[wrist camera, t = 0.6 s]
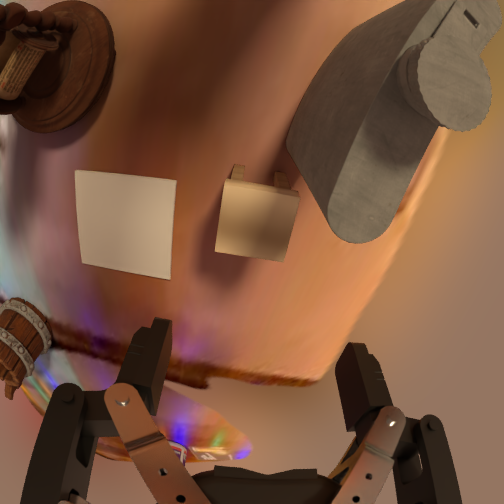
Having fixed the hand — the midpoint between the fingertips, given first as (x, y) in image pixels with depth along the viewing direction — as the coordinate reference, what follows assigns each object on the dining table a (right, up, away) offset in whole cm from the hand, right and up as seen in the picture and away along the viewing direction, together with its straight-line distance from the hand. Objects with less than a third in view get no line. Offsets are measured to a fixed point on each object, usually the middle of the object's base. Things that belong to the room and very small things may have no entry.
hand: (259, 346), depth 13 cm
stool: (0, +10, +17) cm, 20 cm away
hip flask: (+7, +20, +12) cm, 24 cm away
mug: (-40, -9, +28) cm, 50 cm away
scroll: (-21, +24, +9) cm, 33 cm away
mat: (-15, +7, +19) cm, 25 cm away
